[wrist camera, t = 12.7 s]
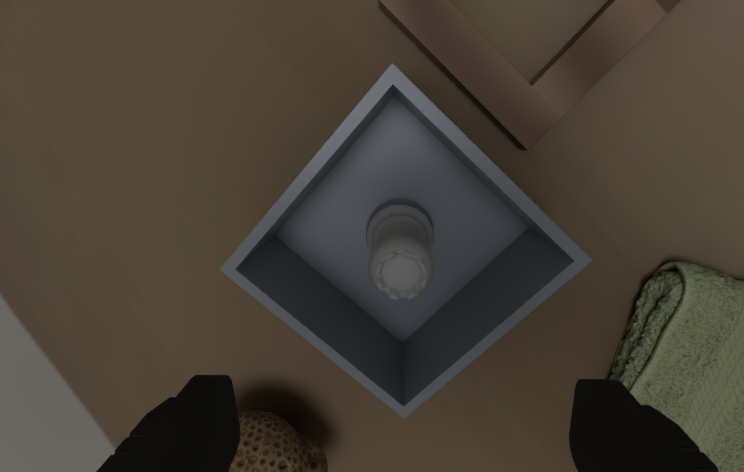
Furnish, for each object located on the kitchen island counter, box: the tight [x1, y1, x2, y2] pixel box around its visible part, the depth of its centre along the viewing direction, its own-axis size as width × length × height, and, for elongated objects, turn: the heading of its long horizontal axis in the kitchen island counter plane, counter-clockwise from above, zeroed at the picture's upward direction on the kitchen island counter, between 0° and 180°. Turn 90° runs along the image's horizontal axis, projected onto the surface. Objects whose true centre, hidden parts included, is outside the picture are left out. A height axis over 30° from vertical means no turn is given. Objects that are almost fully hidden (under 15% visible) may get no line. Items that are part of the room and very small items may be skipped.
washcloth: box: [609, 261, 744, 472], centre depth 26 cm, size 13×18×3 cm
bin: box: [220, 63, 593, 419], centre depth 22 cm, size 13×13×7 cm
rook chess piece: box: [366, 199, 435, 301], centre depth 21 cm, size 4×4×8 cm
